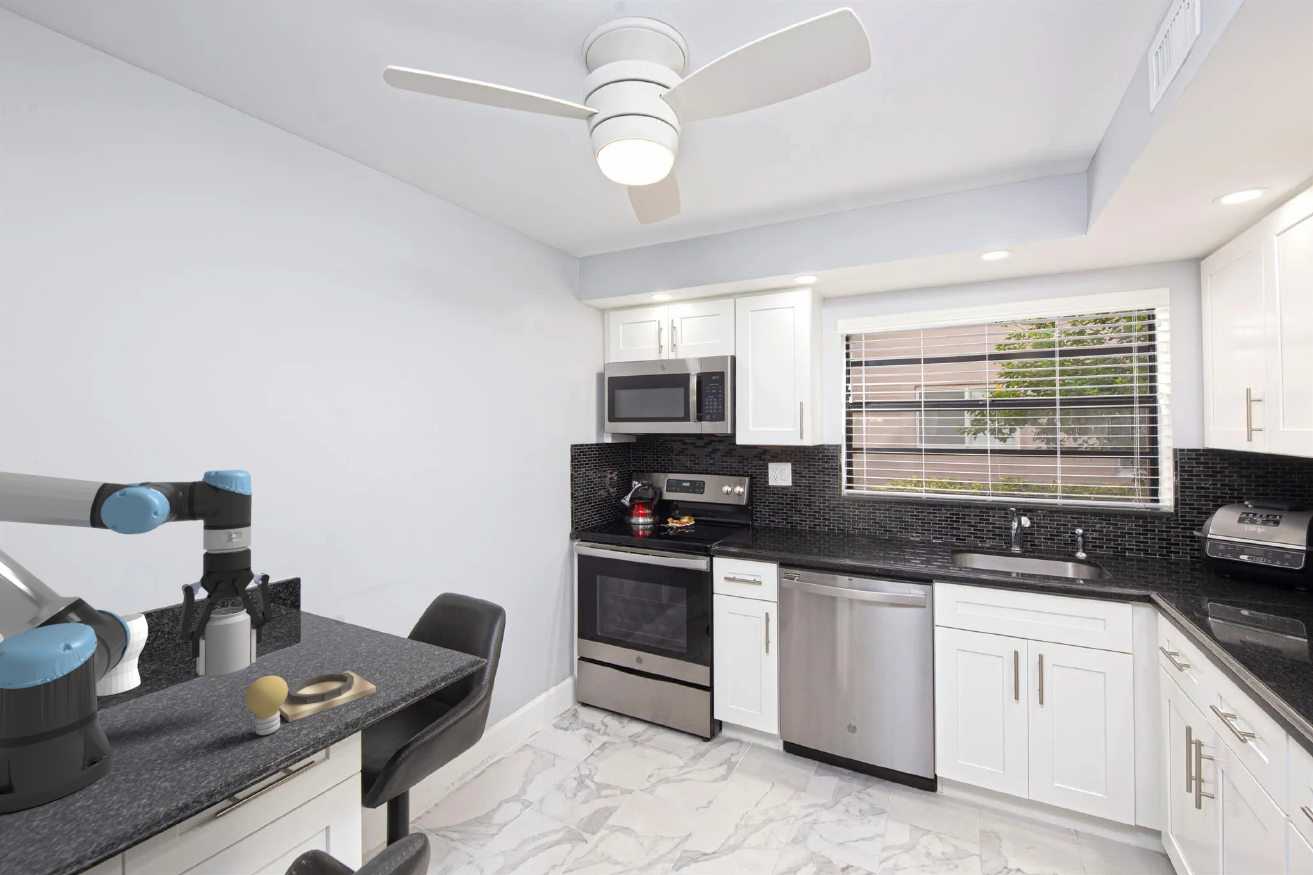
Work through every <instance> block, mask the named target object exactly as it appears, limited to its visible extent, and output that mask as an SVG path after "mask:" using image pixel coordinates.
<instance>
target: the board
mask: <svg viewBox="0 0 1313 875" xmlns="http://www.w3.org/2000/svg"><path fill="white" fill-rule="evenodd" d="M376 693H377V686H376V685H374V684H373V683H371V682H369V681H367V680H366V679H365V678H363V677H361V676H360V675H358V674H356V673H355V672H353V671H352V670H350V669H348V670H345V671H342V672H339V671H333V672H326V673H320V674H316V675H313V676H310V677H306V678H303V679H300V680H299V681H297V682H295V683H293V684H292V685H290V687H288V694H287V697H286V699H285V701H284V703H283V704H282V706H281V707H280V708H279V710H278V711H279V712H280V715H281V717H283V719H284V720H286V721H287V722H289V723H291V722H295V721H298V720H300V719H302V718H305V717H308V716H312V715H314V714H317V713H321V712H323V711H326V710H329V709H332V708H334V707H335V708H336V707H338V706H341V705H344V704H347V703H350V702H353V701H354V700H358V699H361V698H364V697H367V696H369V695H373V694H376Z"/></svg>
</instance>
